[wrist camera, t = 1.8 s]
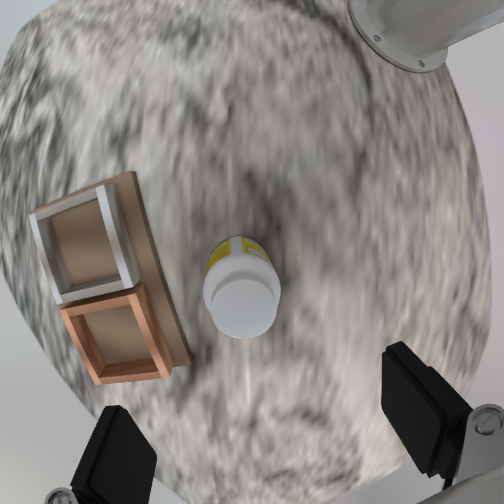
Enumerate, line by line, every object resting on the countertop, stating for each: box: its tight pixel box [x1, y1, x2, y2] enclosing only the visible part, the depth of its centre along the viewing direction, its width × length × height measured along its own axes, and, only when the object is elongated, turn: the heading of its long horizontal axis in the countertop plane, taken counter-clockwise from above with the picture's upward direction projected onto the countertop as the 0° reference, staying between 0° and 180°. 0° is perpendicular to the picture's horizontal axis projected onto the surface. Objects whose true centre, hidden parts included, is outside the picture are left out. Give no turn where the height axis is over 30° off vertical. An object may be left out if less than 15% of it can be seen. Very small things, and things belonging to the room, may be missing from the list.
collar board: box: [29, 172, 193, 385], centre depth 25 cm, size 19×12×4 cm, turn 13°
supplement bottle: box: [203, 236, 281, 339], centre depth 22 cm, size 5×5×10 cm
